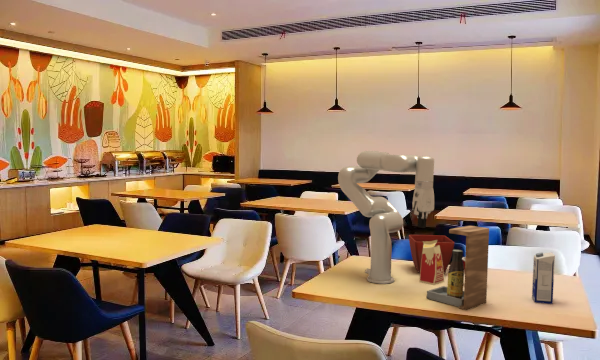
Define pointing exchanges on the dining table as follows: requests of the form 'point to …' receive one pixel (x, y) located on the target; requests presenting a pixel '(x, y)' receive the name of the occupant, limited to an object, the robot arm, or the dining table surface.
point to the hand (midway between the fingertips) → (421, 227)
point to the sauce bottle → (456, 275)
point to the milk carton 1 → (431, 264)
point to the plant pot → (417, 248)
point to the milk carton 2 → (543, 278)
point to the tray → (444, 296)
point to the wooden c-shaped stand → (475, 265)
